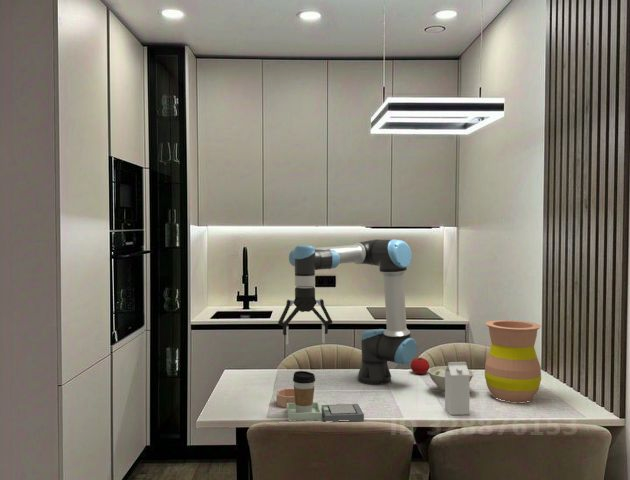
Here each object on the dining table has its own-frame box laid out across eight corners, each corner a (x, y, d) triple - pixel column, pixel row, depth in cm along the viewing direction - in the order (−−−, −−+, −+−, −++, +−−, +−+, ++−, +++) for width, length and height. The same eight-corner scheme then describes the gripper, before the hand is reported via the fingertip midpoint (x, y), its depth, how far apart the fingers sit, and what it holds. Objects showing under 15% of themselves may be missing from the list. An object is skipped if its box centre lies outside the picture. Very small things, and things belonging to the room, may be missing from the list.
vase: (482, 402, 222) (483, 327, 222) (485, 387, 243) (486, 318, 242) (542, 408, 215) (542, 331, 214) (540, 392, 236) (540, 321, 235)
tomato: (410, 370, 271) (410, 354, 271) (428, 371, 270) (428, 355, 270) (410, 375, 262) (410, 358, 262) (429, 376, 261) (430, 359, 261)
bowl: (466, 402, 222) (466, 377, 222) (420, 394, 233) (420, 370, 232) (479, 390, 239) (480, 367, 238) (436, 383, 249) (436, 361, 249)
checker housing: (357, 410, 213) (357, 402, 213) (363, 421, 201) (363, 412, 201) (321, 411, 212) (321, 403, 212) (325, 422, 200) (325, 414, 200)
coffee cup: (301, 408, 214) (301, 369, 214) (319, 412, 209) (319, 372, 209) (288, 414, 207) (288, 374, 207) (306, 418, 202) (306, 377, 202)
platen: (352, 407, 211) (352, 404, 211) (356, 415, 202) (356, 412, 202) (328, 408, 210) (328, 405, 210) (331, 416, 202) (331, 413, 201)
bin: (303, 398, 228) (303, 388, 228) (306, 407, 217) (306, 396, 216) (276, 399, 226) (276, 389, 226) (277, 408, 215) (277, 397, 215)
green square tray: (318, 408, 215) (318, 402, 215) (322, 419, 203) (321, 412, 203) (286, 410, 213) (286, 403, 213) (288, 421, 201) (288, 413, 201)
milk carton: (444, 409, 214) (445, 360, 214) (462, 408, 215) (463, 359, 214) (450, 415, 207) (451, 364, 207) (469, 414, 208) (469, 364, 207)
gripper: (336, 284, 213) (336, 340, 214) (271, 286, 210) (271, 342, 211) (339, 287, 206) (339, 344, 206) (271, 288, 203) (272, 346, 204)
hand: (305, 343), depth 209 cm, fingers open, 13 cm apart
